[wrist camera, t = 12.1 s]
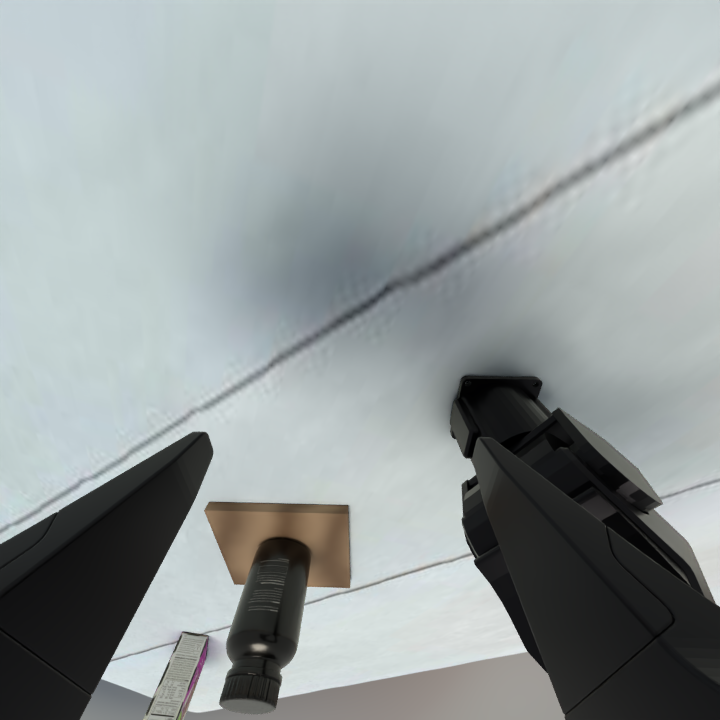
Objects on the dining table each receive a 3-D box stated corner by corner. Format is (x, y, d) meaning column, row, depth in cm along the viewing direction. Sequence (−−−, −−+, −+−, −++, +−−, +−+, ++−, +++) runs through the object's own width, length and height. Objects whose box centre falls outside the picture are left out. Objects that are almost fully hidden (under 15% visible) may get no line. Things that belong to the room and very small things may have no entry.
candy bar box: (208, 658, 53) (146, 825, 38) (181, 654, 52) (109, 822, 37) (210, 635, 48) (141, 817, 33) (181, 630, 47) (98, 814, 32)
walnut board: (348, 505, 31) (347, 514, 30) (350, 579, 38) (349, 587, 37) (208, 502, 31) (204, 510, 30) (237, 575, 38) (234, 584, 37)
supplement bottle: (248, 555, 34) (193, 708, 23) (271, 529, 31) (221, 688, 21) (297, 573, 36) (266, 723, 25) (322, 549, 33) (301, 706, 22)
